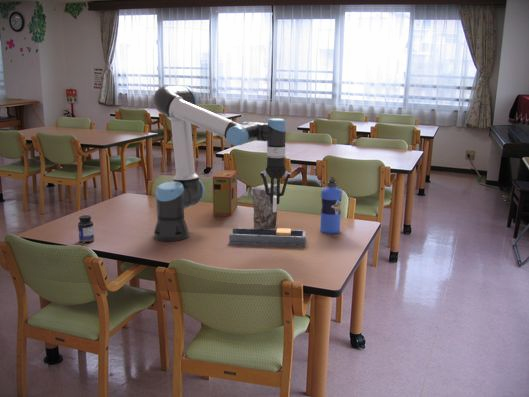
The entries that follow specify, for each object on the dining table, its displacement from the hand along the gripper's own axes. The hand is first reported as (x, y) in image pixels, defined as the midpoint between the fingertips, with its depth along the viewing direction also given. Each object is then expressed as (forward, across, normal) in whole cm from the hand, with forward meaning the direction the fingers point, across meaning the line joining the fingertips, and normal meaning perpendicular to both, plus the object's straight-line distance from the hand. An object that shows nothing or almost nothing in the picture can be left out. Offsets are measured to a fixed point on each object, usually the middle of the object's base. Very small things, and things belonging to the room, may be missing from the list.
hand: (274, 211), depth 228 cm
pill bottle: (+15, -80, -9) cm, 81 cm away
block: (+12, +4, 0) cm, 13 cm away
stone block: (+14, -6, +20) cm, 25 cm away
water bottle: (+14, +24, +18) cm, 33 cm away
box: (+14, -29, +45) cm, 55 cm away
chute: (+14, -3, 0) cm, 14 cm away
